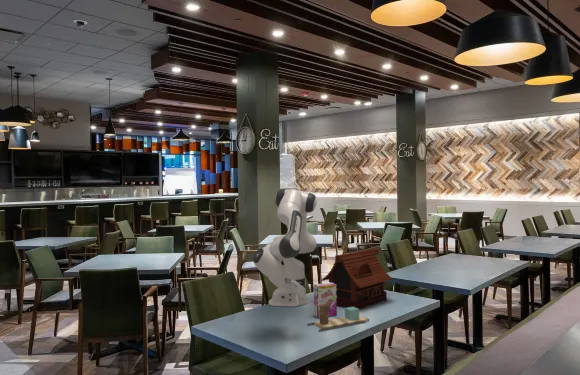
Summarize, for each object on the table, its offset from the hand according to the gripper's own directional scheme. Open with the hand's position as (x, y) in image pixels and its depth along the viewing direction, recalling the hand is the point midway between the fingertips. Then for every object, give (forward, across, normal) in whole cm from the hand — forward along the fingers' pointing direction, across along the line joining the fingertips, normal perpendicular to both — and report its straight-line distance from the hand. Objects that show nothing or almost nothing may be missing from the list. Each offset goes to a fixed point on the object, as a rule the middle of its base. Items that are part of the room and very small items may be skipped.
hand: (300, 295), depth 209 cm
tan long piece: (+27, 0, -4) cm, 28 cm away
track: (+25, 0, -2) cm, 25 cm away
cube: (+31, 0, -10) cm, 32 cm away
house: (+49, +28, -25) cm, 61 cm away
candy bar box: (+27, +14, -4) cm, 31 cm away
